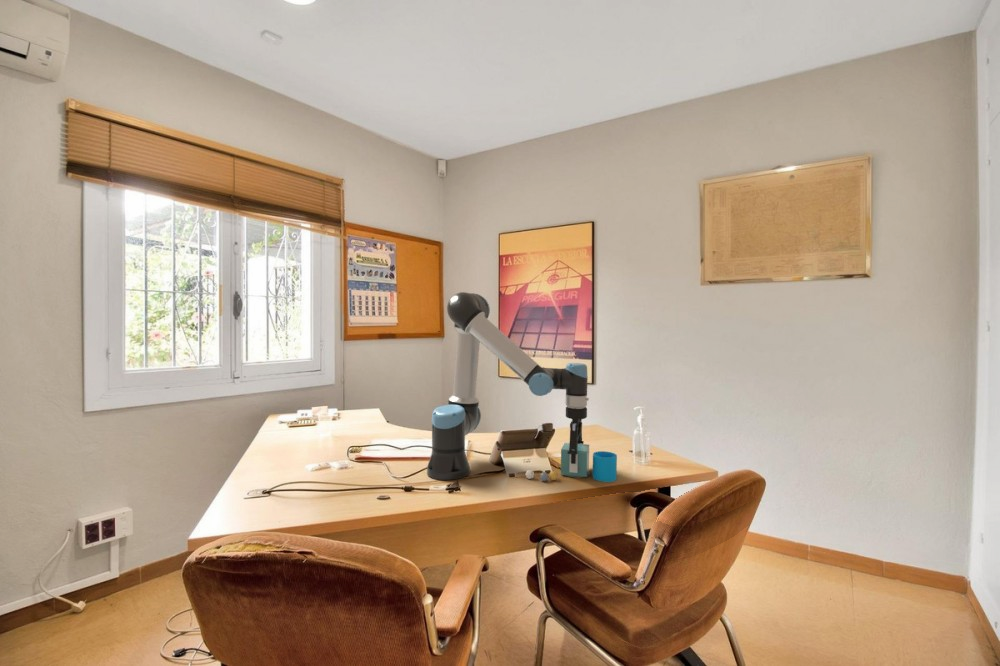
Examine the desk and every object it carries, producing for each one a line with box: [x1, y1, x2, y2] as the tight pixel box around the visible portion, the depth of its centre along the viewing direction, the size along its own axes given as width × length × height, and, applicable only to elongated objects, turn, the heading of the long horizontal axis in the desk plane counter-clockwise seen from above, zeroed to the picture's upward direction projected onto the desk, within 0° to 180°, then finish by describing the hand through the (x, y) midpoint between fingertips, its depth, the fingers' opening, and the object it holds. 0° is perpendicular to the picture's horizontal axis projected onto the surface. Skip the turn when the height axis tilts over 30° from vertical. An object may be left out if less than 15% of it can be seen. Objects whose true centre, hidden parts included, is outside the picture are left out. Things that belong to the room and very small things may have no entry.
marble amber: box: [548, 470, 558, 481], centre depth 160 cm, size 3×3×3 cm
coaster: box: [564, 470, 591, 479], centre depth 167 cm, size 10×10×1 cm
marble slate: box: [539, 471, 550, 482], centre depth 159 cm, size 3×3×3 cm
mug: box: [592, 450, 618, 483], centre depth 164 cm, size 12×8×8 cm
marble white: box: [525, 469, 535, 480], centre depth 161 cm, size 3×3×3 cm
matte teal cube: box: [560, 442, 590, 478], centre depth 167 cm, size 9×9×9 cm
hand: (575, 466), depth 167 cm, fingers open, 11 cm apart
